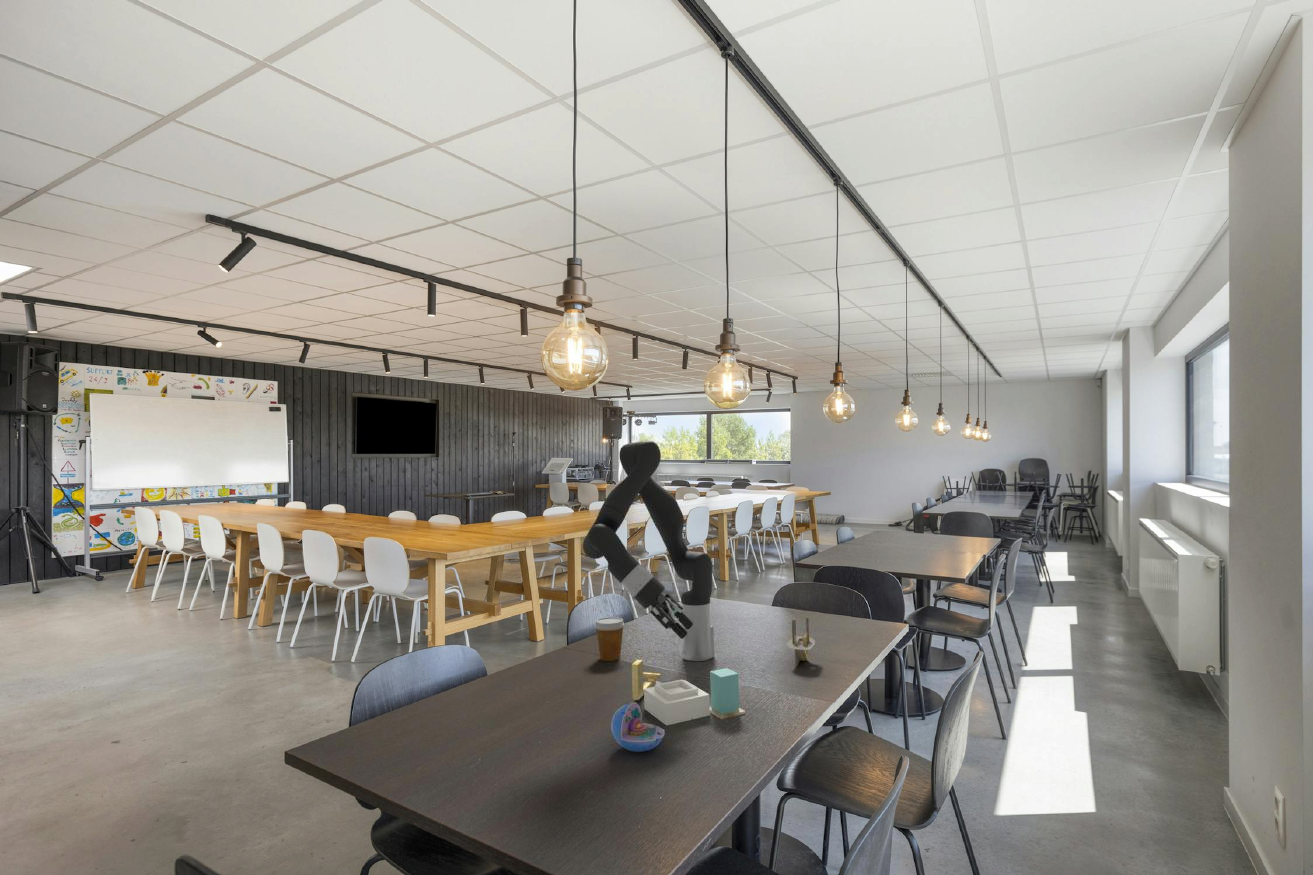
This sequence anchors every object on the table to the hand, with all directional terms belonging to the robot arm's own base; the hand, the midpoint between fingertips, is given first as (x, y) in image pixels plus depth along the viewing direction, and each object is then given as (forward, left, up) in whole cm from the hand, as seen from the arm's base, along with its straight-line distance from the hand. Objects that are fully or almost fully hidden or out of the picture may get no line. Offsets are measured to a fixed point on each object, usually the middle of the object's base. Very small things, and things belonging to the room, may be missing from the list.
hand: (688, 631), depth 164 cm
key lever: (+6, -14, -18) cm, 24 cm away
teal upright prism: (-6, +7, -18) cm, 21 cm away
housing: (+5, +1, -19) cm, 19 cm away
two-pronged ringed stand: (-46, -12, -20) cm, 52 cm away
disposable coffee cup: (+2, -49, -19) cm, 52 cm away
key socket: (+2, -19, -19) cm, 26 cm away
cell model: (+22, +15, -19) cm, 33 cm away
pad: (-6, +7, -19) cm, 21 cm away
